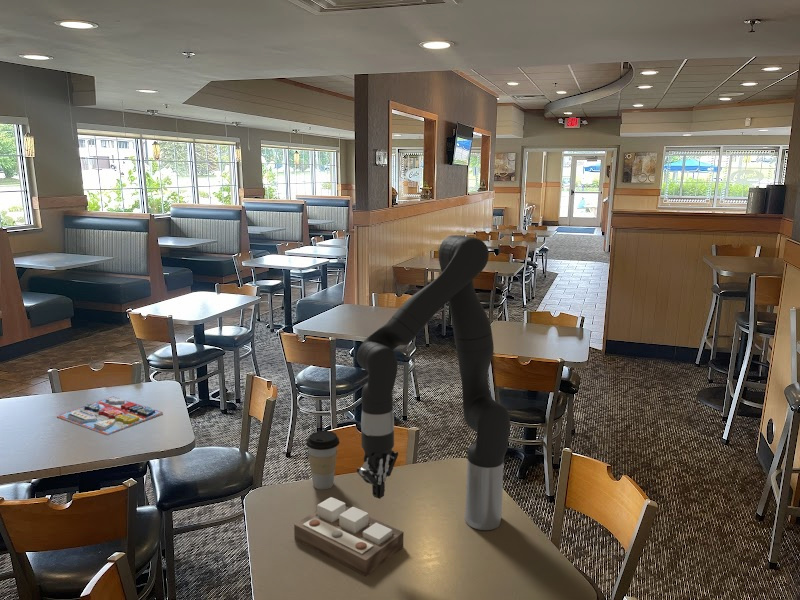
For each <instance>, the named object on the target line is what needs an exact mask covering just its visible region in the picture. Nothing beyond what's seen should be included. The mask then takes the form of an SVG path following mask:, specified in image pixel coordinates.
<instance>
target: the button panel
mask: <svg viewBox="0 0 800 600" xmlns="http://www.w3.org/2000/svg"><path fill="white" fill-rule="evenodd" d="M350 508H351V507H348V506H346V511H347V510H348V509H350ZM375 523H378V524H381V525H383V526H385V527H387V528H390V529H392V537H390V538H389V539H388V540H386V541H385V542H384V543H382V544H381V545H380V546H379V545H377V544H375V543H373V542H370V541H368V540H366V539H364V538H363V531H364V530H366V529H367V528H369V527H370V526H372V525H373V524H375ZM293 527H294V528H293V530H294V537H293V539H294V540H296V541H298V542H300V543H301V544H303V545H305V546H307V547H309V548H311V549H313V550H314V551H316V552H318V553H321V554H322V555H324V556H326V557H328V558H330V559H332V560H334V561H335V562H338V563H339V564H341V565H342V566H345V567H347V568H349V569H351V570H353V571H354V572H356V573H359V574H360V575H362V576H364V577H367V576H368V575H370V574H371V573H373V572H374V571H375V570H376V569H377V568H379V567H380V566H381V565H383V563H385V562H386V561H387V560H389V559H390V558H391V557H392V556H394V555H395V554H397V553H398V552H399V551H400V550H401V549H403V548H404V535H405V534H404V532H405V531H403V530H400V529H398V528H395V527H393V526H390V525H389V524H386V523H384V522H383V521H381V520H378V519H375V518H373V517H371V516H370V515H368V525H367V526H366V527H365V528H363V529H362V530H360V531H359V532H357V533H356V534H354V533H352V532H349V531H347V530H345V529H343V528H341V527H339V519H338V520H336V521H335V522H333V523H331V522H328V521H326V520H324V519H322V518H320V517H318V516H317V510H316V511H314V512H312V513H311V514H309V515H308V516H306V517H304V518H302V519H301V520H299V521H297V522H295V523H294V524H293Z"/></svg>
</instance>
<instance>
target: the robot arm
mask: <svg viewBox="0 0 800 600" xmlns="http://www.w3.org/2000/svg"><path fill="white" fill-rule="evenodd" d="M489 256H490V253H489V248H488V246H487V245H486V243H485V242H484V241H483V240H482V239H480V238H476V237H474V236H473V237H472V236H466V235H459V234H458V235H457V234H452V235H449V236H446V237H445V238H443V240H442V241H441V244H440V245H439V248H438V262H439V263H438V264H439V267H440V271H441V273H440V274H439V275H438V276H437V277H435V279H433V281H431V282H430V283H429V284H427V285H426V286H424V287H423V288H422V289H420V290H418V291H417V292H416V293H414V294H412V295H411V296H410V297H409V298H408V299H406V300H405V302H404V303H403V304H402V305H401V306H400V307H399V308H398V309H397V310H396V311H395V313H394V314H393V315H392V316H391V318H389V320H388V321H387V322H386V323H385V324H383V325H382V326H380V327H379V328H378V329H377V330H375V331H374V332H373V333H372V334H370V335H369V336H367V338H366V339H364V340H363V342H362V343H361V344H360V346H359V347H358V349H357V352H356V361H357V363H358V365H359V366H360V368H362V369H363V370H365V371H366V372H367V373H368V374H367V375H368V381H367V382H366V383H365V384H364V385H363V387H362V390H361V415H360V417H361V419H360V430H361V433H360V434H361V448H362V449H363V451H364V456H363V464H362V466H361V467H357V469H356V473H357V474H358V475H359V476H360V478H362V480H363V481H364V482H365V483H367V484H370V485H371V487H372V490H371V491H372V497H374V498H377V499H380V500H381V499H382V498H384V496H385V491H386V490H385V489H386V488H385V485H386V481H387V477H390V476H391V474H392V471H393V469H394V467H395V465H396V461H397V459H398V456H399V452H398V451H395V450H393V448H394V446H395V416H394V410H393V409H394V407H393V406H394V405H393V404H394V403H393V401H394V400H393V399H394V397H393V391H394V388H395V383H396V378H397V373H398V366H399V364H398V358H397V355H396V352H395V349H396V348H398V347H400V346H407V345H409V344H411V342H412V341H414V339H415V338H416V337H418V335H419V334H420V332H421V331H422V330H423V329H424V328H425V326H426V325H427V324H428V323H429V322H430V320H431V319H432V318H433V317H434V316H435V315H436V314H437V313H438V312H439V310H441V309H442V308H443V307H444V306H445V305H446V304H447V303H448V304H449V306H448V307H449V312H450V317H451V322H452V331H453V339H454V344H455V350H456V355H457V356H456V357H457V362H458V367H459V368H458V369H459V375H460V378H461V379H460V381H461V391H462V393H461V394H462V407H463V408H462V412H463V418H464V421H465V424H467V426H468V427H469V428H470V429H471V430H473V431H474V432H475V433H476V440H475V441H476V442H475V443H472V445H470V446H469V447H468V449H467V460H466V461H467V464H466V484H465V485H466V491H465V511H464V512H465V514H464V515H465V516H464V521H465V523H466V524H467V525H468V526H469V527H470V528H473V529H475V530H479V531H490V530H491V531H492V530H495V529H498V527H499V526H500V525H501V520H502V519H501V518H502V513H503V512H502V509H503V492H504V490H503V489H504V484H503V482H504V481H503V480H504V464H505V463H504V462H505V461H504V460H505V456H506V453H507V451H508V448H509V438H510V431H511V428H510V427H511V417H510V413H509V410H508V409H507V408H506V406H504V405H502V404H501V403H500V402H498V401H496V400H494V399H493V397H492V394H491V391H490V386H489V378H488V376H489V375H488V374H489V370H490V369H489V368H490V365H491V362H492V360H493V356H494V348H495V347H494V339H493V331H492V326H491V322H490V320H489V316H488V314H487V312H486V310H485V309H484V306H483V305H482V303H481V300H480V299H479V297H478V295H477V292H476V290H475V285H474V279H475V278H476V277H478V275H480V274H481V273H482V271H483V270H484V269H485V267H487V264H488V262H489Z"/></svg>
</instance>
